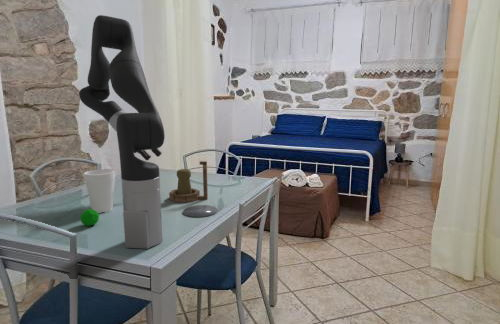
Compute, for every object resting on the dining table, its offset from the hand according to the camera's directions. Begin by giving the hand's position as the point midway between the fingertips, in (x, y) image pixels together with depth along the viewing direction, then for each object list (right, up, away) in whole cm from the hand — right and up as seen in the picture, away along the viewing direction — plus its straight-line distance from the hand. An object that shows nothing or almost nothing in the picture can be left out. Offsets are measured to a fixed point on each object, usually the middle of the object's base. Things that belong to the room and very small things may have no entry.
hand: (154, 156), depth 134 cm
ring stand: (+13, -15, 0) cm, 20 cm away
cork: (+11, -16, 0) cm, 19 cm away
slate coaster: (+19, -18, -15) cm, 31 cm away
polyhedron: (-12, -21, -27) cm, 36 cm away
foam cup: (-14, -18, -13) cm, 26 cm away
